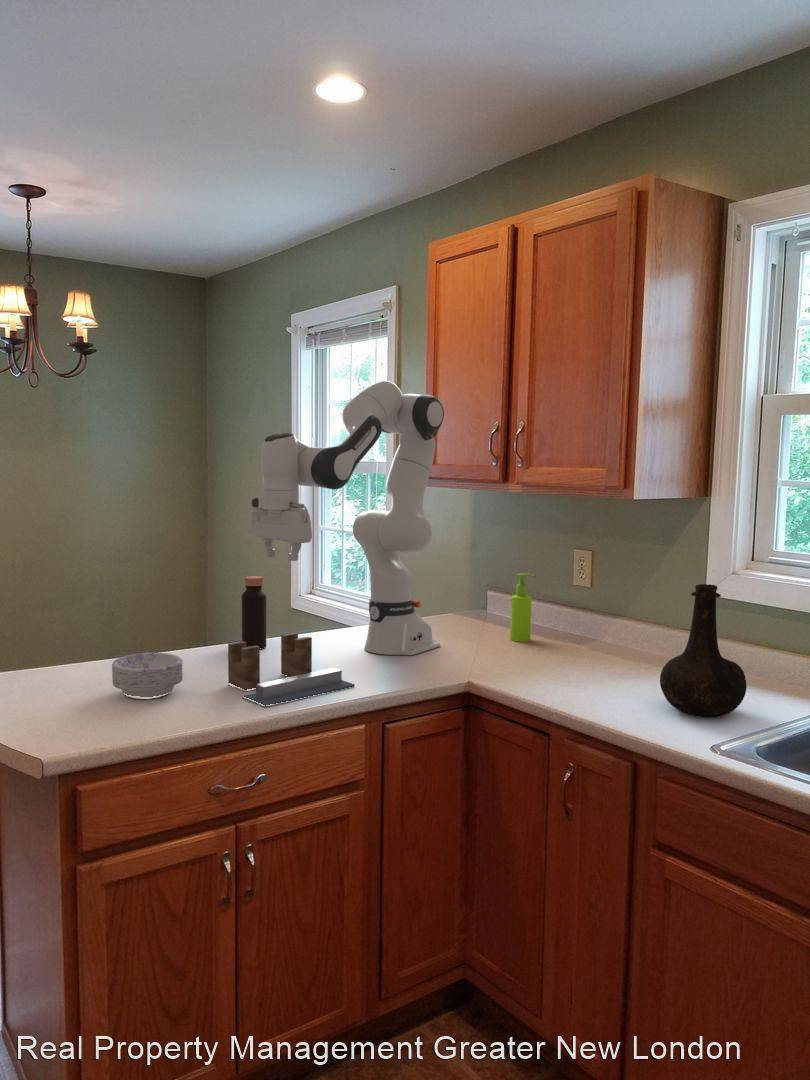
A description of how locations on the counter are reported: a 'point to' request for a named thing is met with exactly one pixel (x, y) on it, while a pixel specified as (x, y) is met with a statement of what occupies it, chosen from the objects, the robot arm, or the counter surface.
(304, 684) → the rail
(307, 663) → the cradles
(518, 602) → the soap dispenser
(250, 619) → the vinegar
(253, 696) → the mat
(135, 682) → the paper bowls
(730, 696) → the glass bottle
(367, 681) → the counter surface
